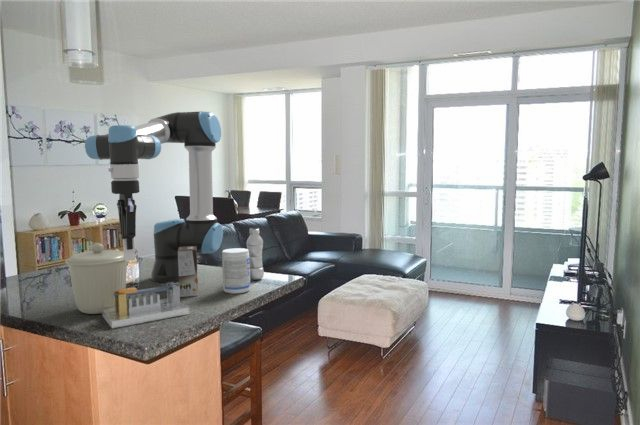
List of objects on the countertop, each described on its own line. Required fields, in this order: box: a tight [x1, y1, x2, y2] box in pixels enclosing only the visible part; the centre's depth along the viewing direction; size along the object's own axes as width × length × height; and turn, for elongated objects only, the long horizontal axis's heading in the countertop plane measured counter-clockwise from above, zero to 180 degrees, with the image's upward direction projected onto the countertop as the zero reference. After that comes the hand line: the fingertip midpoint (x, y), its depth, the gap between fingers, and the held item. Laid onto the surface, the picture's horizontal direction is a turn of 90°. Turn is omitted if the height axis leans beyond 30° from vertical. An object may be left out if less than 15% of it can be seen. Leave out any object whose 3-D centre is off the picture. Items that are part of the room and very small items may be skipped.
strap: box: [114, 283, 176, 298], centre depth 147 cm, size 3×18×2 cm, turn 124°
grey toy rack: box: [101, 282, 190, 329], centre depth 147 cm, size 14×22×8 cm, turn 124°
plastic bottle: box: [246, 227, 265, 281], centre depth 189 cm, size 6×7×20 cm
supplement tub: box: [221, 247, 251, 295], centre depth 173 cm, size 10×10×15 cm
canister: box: [64, 242, 128, 315], centre depth 152 cm, size 18×18×21 cm
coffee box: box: [178, 246, 199, 298], centre depth 171 cm, size 9×6×16 cm
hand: (129, 259), depth 144 cm, fingers closed
